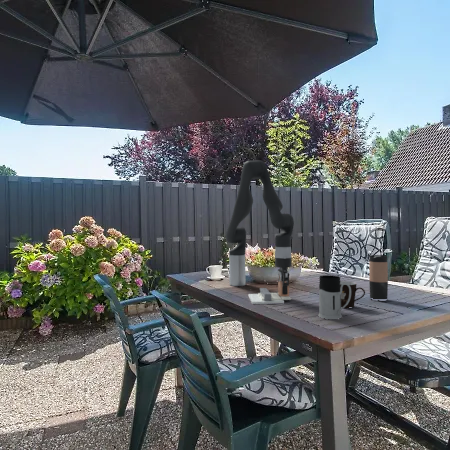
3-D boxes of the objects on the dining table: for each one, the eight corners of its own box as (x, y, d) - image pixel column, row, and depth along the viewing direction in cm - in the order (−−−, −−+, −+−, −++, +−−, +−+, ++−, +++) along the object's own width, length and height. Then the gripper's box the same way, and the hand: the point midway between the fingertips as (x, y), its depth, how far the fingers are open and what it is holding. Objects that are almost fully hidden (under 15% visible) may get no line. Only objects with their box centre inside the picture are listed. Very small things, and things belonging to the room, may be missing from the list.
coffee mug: (330, 305, 144) (330, 281, 144) (346, 303, 147) (346, 280, 147) (349, 311, 133) (349, 286, 133) (366, 309, 136) (366, 285, 136)
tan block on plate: (276, 294, 162) (276, 280, 162) (285, 294, 162) (284, 279, 162) (282, 299, 150) (281, 284, 150) (291, 299, 150) (290, 284, 150)
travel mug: (386, 298, 155) (385, 255, 155) (389, 302, 148) (389, 256, 148) (368, 297, 157) (368, 255, 157) (370, 301, 150) (370, 256, 150)
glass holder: (329, 312, 133) (329, 274, 132) (359, 321, 120) (359, 279, 120) (313, 315, 128) (312, 276, 128) (342, 325, 116) (341, 281, 116)
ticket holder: (248, 296, 163) (248, 287, 163) (277, 295, 164) (276, 287, 164) (252, 304, 147) (252, 294, 147) (284, 303, 148) (284, 294, 148)
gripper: (272, 255, 163) (272, 290, 163) (278, 258, 148) (278, 296, 148) (287, 255, 163) (288, 289, 163) (295, 258, 149) (295, 296, 149)
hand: (283, 292), depth 156 cm, fingers closed on tan block on plate, 5 cm apart
